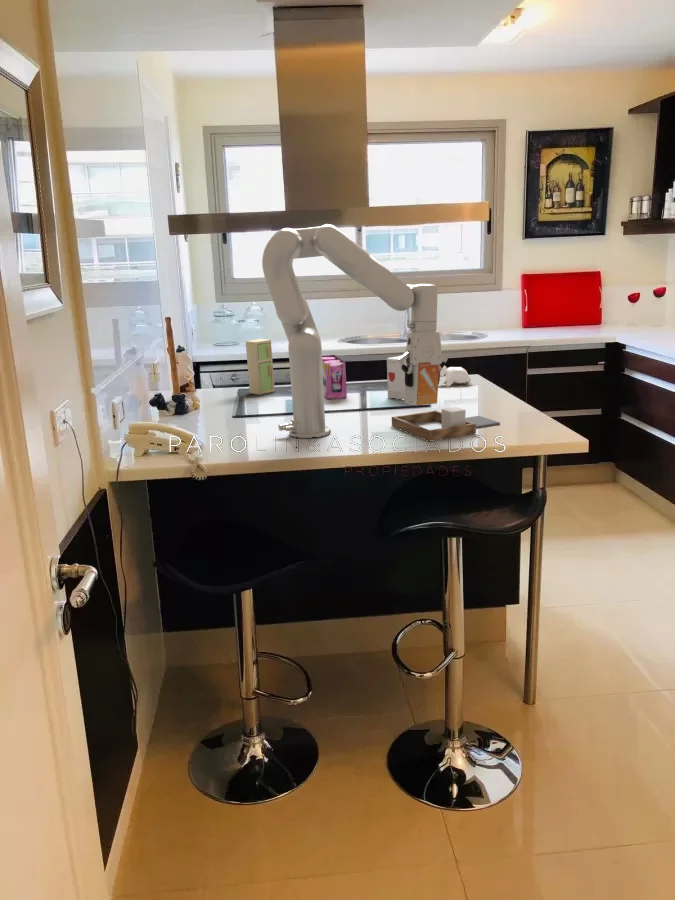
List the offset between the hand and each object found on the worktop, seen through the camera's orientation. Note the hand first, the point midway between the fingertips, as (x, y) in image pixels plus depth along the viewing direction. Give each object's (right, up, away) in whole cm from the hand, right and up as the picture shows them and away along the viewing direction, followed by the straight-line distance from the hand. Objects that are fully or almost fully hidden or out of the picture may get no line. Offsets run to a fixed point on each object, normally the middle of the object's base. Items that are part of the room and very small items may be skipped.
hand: (422, 384), depth 211 cm
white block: (+9, -15, -4) cm, 17 cm away
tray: (+3, -14, 0) cm, 14 cm away
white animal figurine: (+20, +6, +70) cm, 74 cm away
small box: (0, -6, +2) cm, 6 cm away
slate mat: (+17, -11, +6) cm, 21 cm away
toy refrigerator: (-56, +3, +72) cm, 91 cm away
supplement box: (-1, 0, +49) cm, 49 cm away
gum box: (-28, +2, +64) cm, 69 cm away
